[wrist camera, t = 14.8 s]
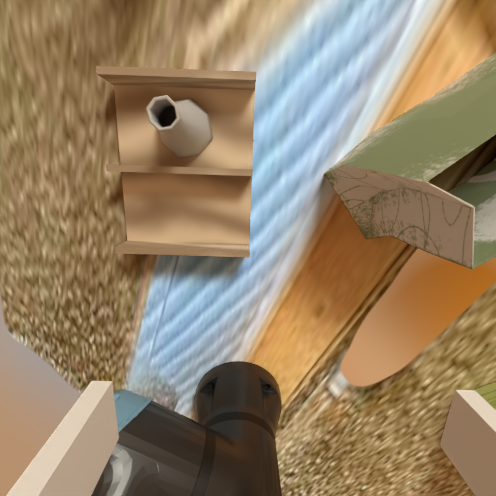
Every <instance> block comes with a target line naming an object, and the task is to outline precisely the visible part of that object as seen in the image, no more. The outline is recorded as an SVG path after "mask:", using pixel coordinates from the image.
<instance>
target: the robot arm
mask: <svg viewBox="0 0 496 496" xmlns="http://www.w3.org/2000/svg"><path fill="white" fill-rule="evenodd" d="M152 400H153V399H152V398H146V397H143V396H141V395H138V394H136V393H133V392H131V391H128V390H118V391H115V392H113V385H112V381H91V383H90V384H89V385H88V387H87V388H86V389H85V391H84V392H83V393H82V395H81V396H80V397H79V399H78V400H77V401H76V403H75V404H74V405H73V407H72V408H71V410H70V411H69V412H68V414H67V415H66V416H65V418H64V419H63V420H62V422H61V423H60V424H59V426H58V427H57V428H56V430H55V431H54V432H53V434H52V435H51V436H50V438H49V439H48V440H47V442H46V443H45V444H44V446H43V447H42V448H41V450H40V451H39V452H38V454H37V455H36V457H35V458H34V459H33V460H32V462H31V463H30V464H29V466H28V467H27V469H26V470H25V471H24V473H23V474H22V475H21V477H20V478H19V479H18V481H17V482H16V483H15V485H14V486H13V487H12V489H11V490H10V491H9V493H8V494H7V495H6V496H282V494H281V486H280V477H279V469H278V460H277V452H276V443H275V434H276V430H277V426H278V422H279V417H280V413H281V396H280V390H279V386H278V384H277V382H276V380H275V379H274V377H273V376H272V375H271V374H270V373H269V372H268V371H266V370H265V369H263V368H262V367H260V366H258V365H255V364H252V363H248V362H228V363H224V364H221V365H219V366H216V367H214V368H213V369H211V370H210V371H209V372H207V373H206V374H205V375H204V376H203V378H202V379H201V381H200V383H199V385H198V388H197V392H196V396H195V403H194V408H195V415H196V421H197V422H196V421H193V420H191V419H189V418H187V417H185V416H183V415H181V414H179V413H177V412H175V411H173V410H171V409H169V408H167V407H164V406H162V405H160V404H158V403H156V402H154V401H152ZM440 447H441V448H442V449H443V451H444V452H445V454H446V455H447V456H448V458H449V459H450V461H451V462H452V464H453V465H454V466H455V468H456V469H457V471H458V472H459V473H460V475H461V476H462V478H463V479H464V481H465V482H466V483H467V485H468V486H469V488H470V489H471V490H472V492H473V493H474V495H475V496H496V410H495V409H494V408H493V407H492V406H491V405H490V404H489V403H488V402H487V401H486V400H485V399H483V398H482V397H481V396H480V395H479V394H478V393H477V392H476V391H475V390H455V393H454V396H453V400H452V403H451V407H450V410H449V414H448V417H447V421H446V424H445V428H444V431H443V435H442V438H441V442H440Z"/></svg>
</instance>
